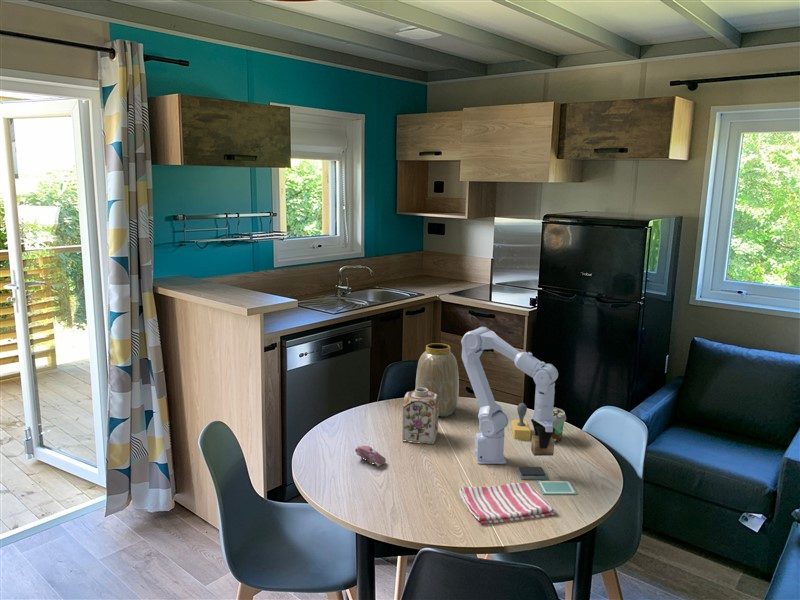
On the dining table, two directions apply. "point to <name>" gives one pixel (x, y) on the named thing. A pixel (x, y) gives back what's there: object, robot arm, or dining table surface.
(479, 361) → the robot arm
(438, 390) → the vase
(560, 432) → the food container
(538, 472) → the ink pad
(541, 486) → the marked card
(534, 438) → the hand stamp
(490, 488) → the dish towel
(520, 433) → the rubber stamp
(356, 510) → the dining table surface
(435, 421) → the decorative jar
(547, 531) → the dining table surface
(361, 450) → the pink rounded piece
